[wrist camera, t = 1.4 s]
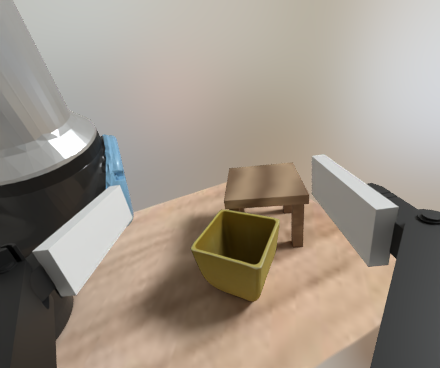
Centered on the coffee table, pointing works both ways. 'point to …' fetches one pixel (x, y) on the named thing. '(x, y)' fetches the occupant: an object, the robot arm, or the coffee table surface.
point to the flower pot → (237, 252)
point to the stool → (269, 192)
